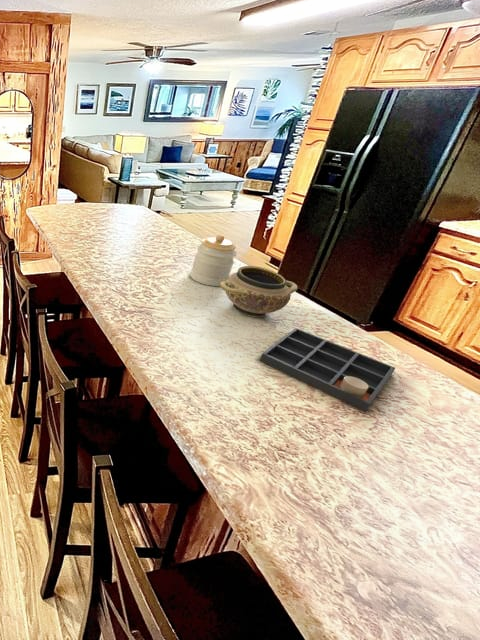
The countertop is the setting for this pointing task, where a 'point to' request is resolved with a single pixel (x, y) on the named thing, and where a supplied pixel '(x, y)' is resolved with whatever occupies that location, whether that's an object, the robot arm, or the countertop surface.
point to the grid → (327, 366)
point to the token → (354, 386)
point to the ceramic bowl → (257, 291)
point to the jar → (213, 261)
